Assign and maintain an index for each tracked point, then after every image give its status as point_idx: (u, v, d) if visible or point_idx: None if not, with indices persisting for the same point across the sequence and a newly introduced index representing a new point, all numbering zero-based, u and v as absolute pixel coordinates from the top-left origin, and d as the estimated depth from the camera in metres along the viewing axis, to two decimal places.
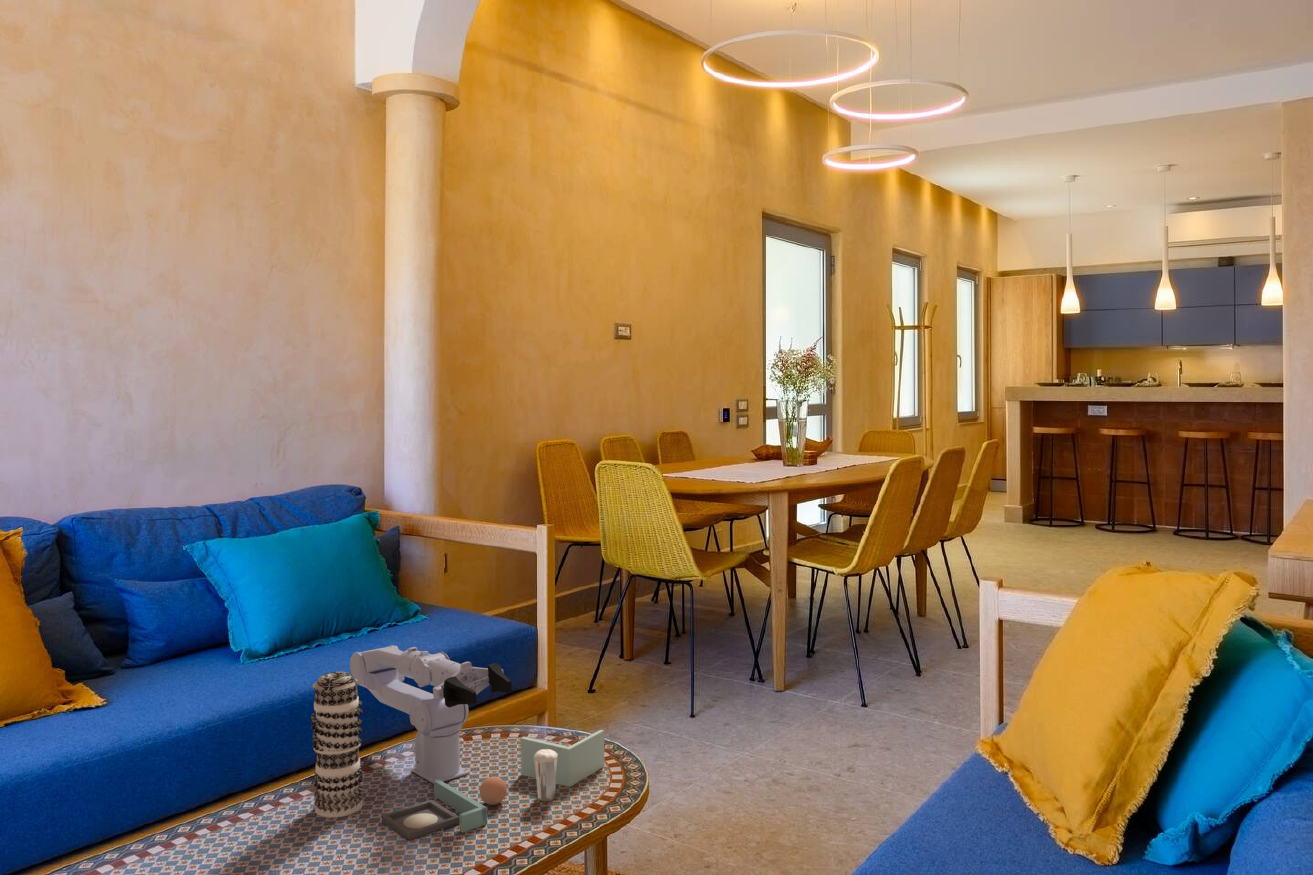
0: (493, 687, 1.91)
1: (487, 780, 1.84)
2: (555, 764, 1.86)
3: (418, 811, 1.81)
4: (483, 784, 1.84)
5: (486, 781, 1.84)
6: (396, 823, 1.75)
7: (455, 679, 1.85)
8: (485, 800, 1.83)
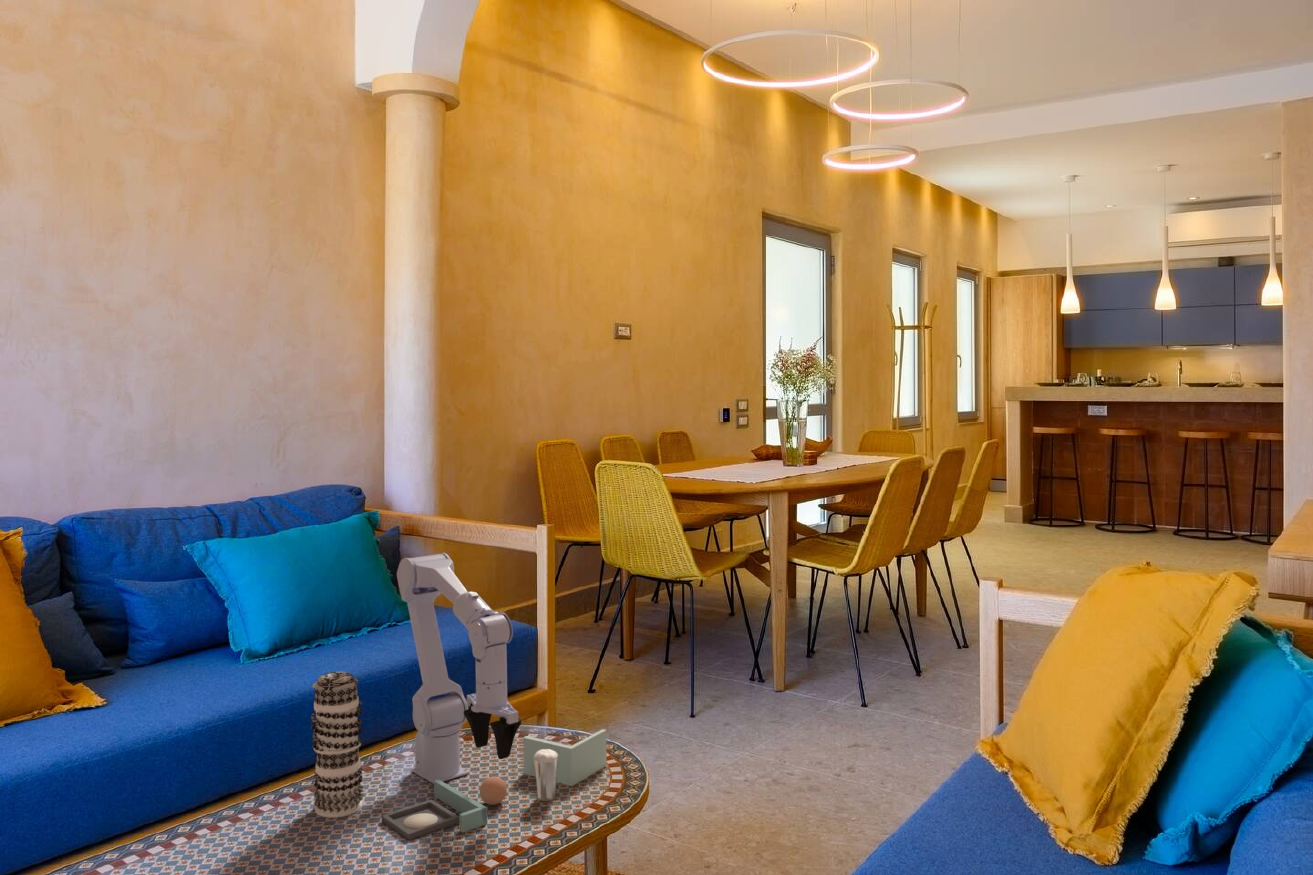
0: None
1: (487, 780, 1.84)
2: (555, 764, 1.86)
3: (418, 811, 1.81)
4: (483, 784, 1.84)
5: (486, 781, 1.84)
6: (396, 823, 1.75)
7: (469, 717, 1.86)
8: (485, 800, 1.83)
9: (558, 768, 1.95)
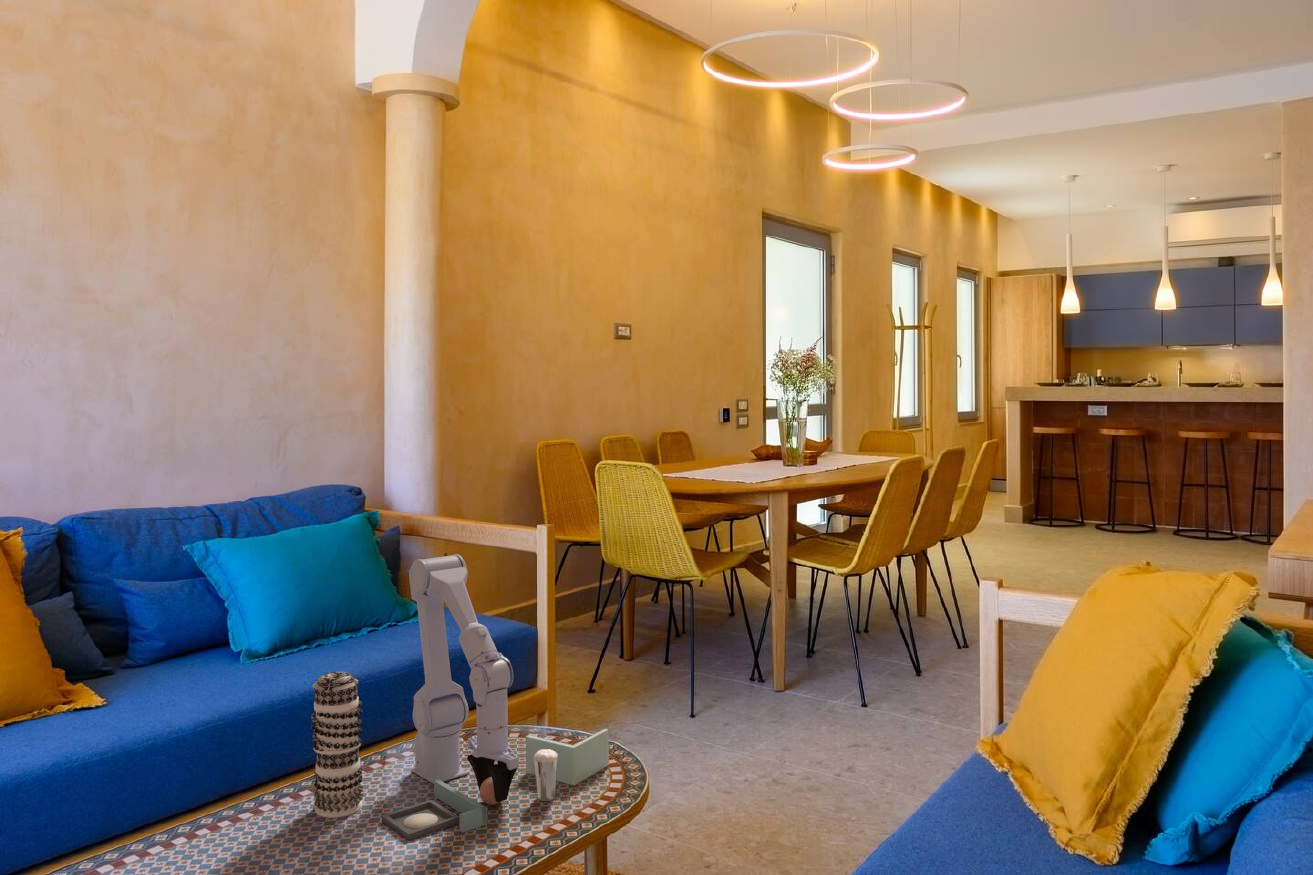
0: None
1: (487, 780, 1.84)
2: (555, 764, 1.86)
3: (418, 811, 1.81)
4: (483, 784, 1.84)
5: (486, 781, 1.84)
6: (396, 823, 1.75)
7: (472, 763, 1.86)
8: (485, 800, 1.83)
9: (560, 767, 1.95)
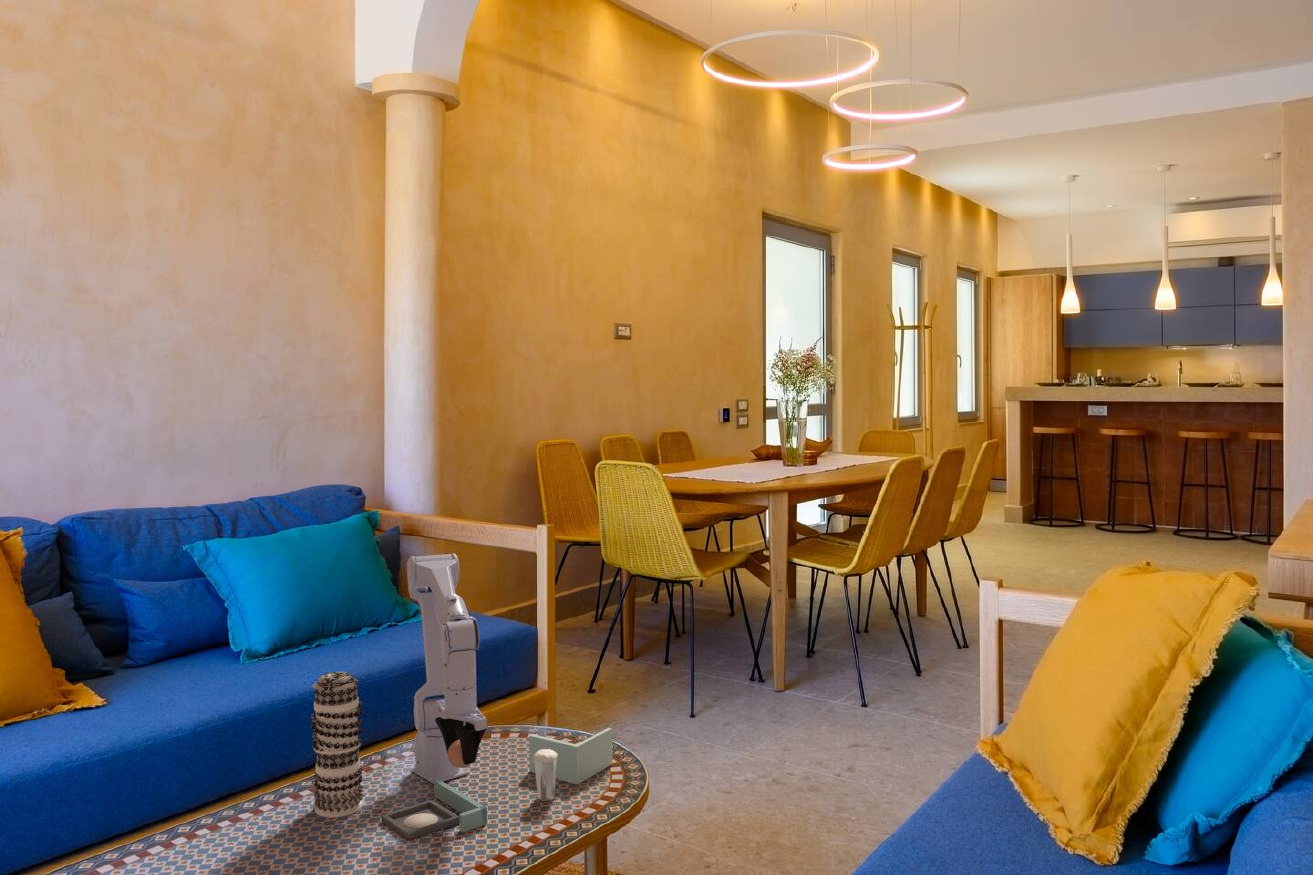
0: None
1: (455, 742, 1.81)
2: (555, 764, 1.86)
3: (418, 811, 1.81)
4: (451, 747, 1.80)
5: (454, 743, 1.80)
6: (396, 823, 1.75)
7: (440, 725, 1.82)
8: (453, 763, 1.80)
9: (564, 766, 1.96)
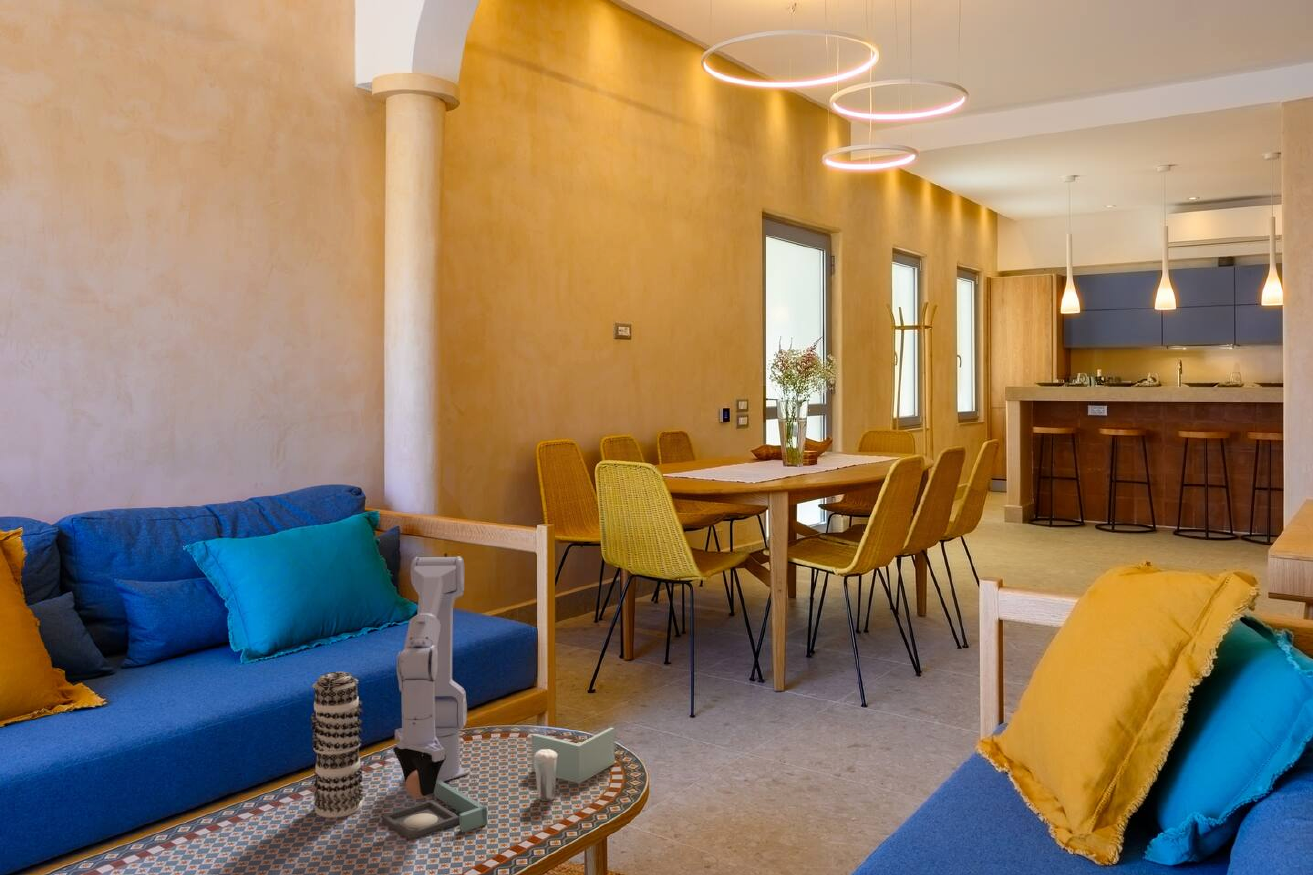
0: None
1: (413, 773, 1.76)
2: (555, 764, 1.86)
3: (418, 811, 1.81)
4: (409, 777, 1.76)
5: (412, 774, 1.76)
6: (396, 823, 1.75)
7: (398, 755, 1.77)
8: (411, 794, 1.75)
9: (566, 765, 1.96)
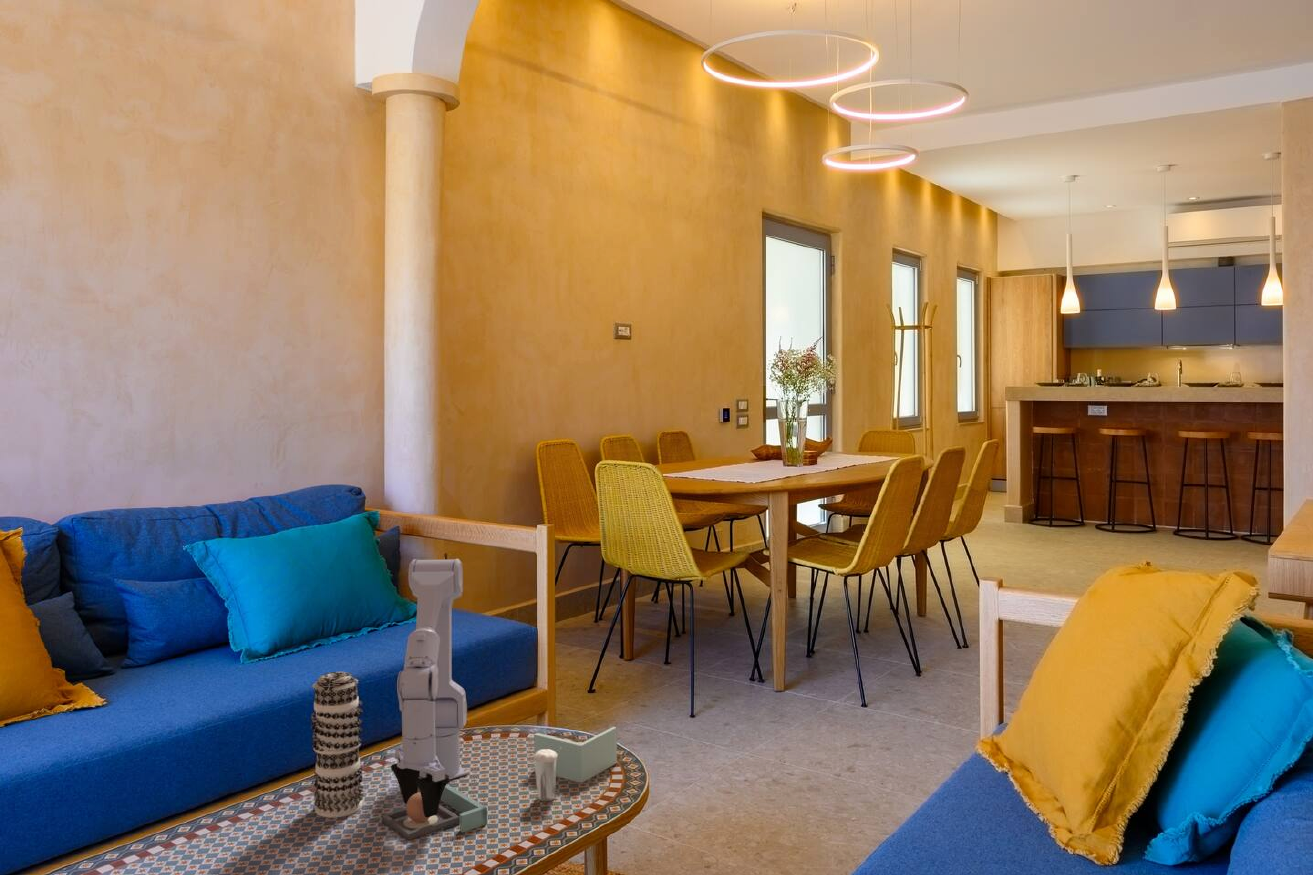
0: None
1: (413, 796, 1.77)
2: (555, 764, 1.86)
3: None
4: (409, 800, 1.76)
5: (413, 797, 1.76)
6: (396, 823, 1.75)
7: (396, 772, 1.78)
8: (411, 817, 1.75)
9: (568, 765, 1.96)
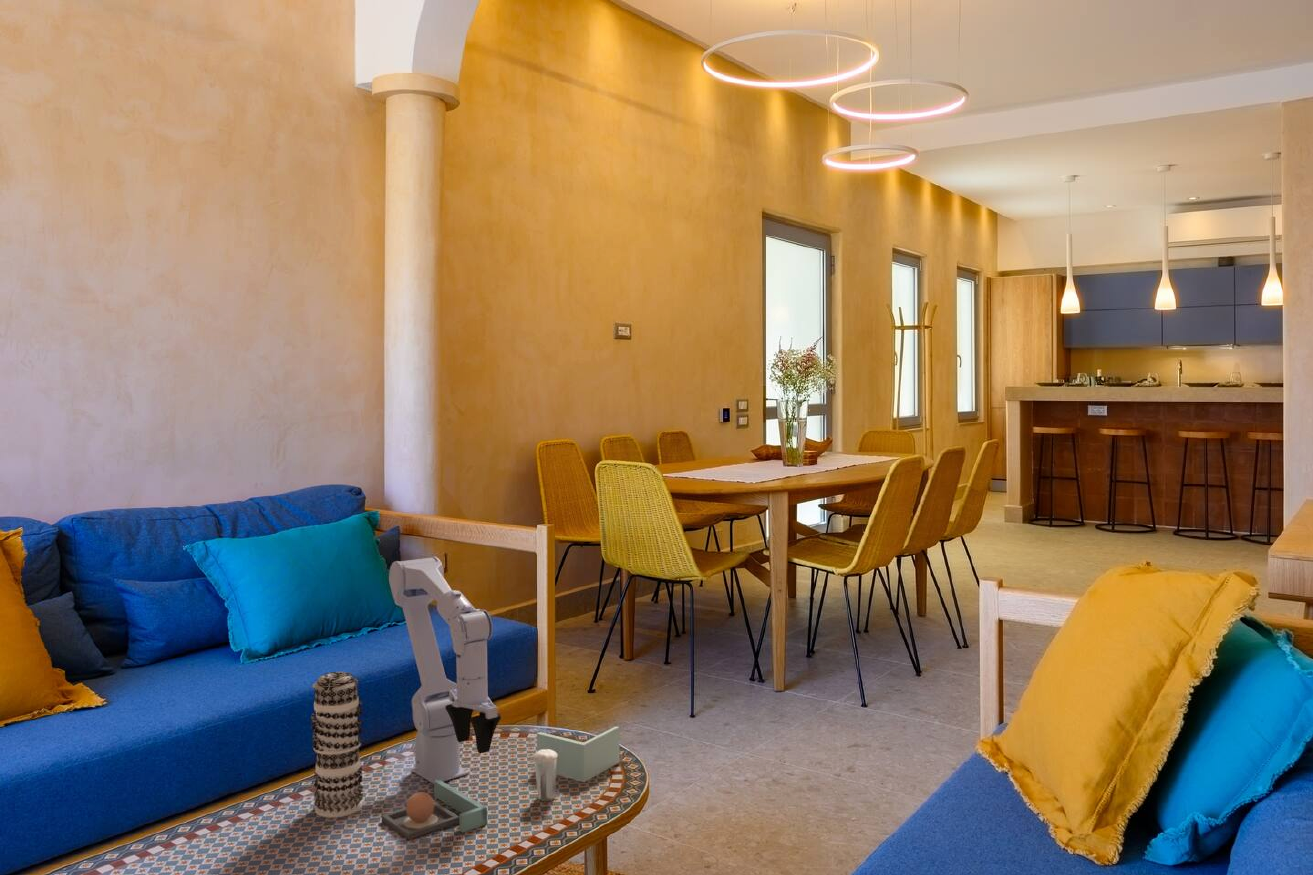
0: None
1: (413, 796, 1.77)
2: (555, 764, 1.86)
3: None
4: (409, 800, 1.76)
5: (412, 797, 1.76)
6: (396, 823, 1.75)
7: (450, 712, 1.89)
8: (411, 817, 1.75)
9: (571, 764, 1.97)
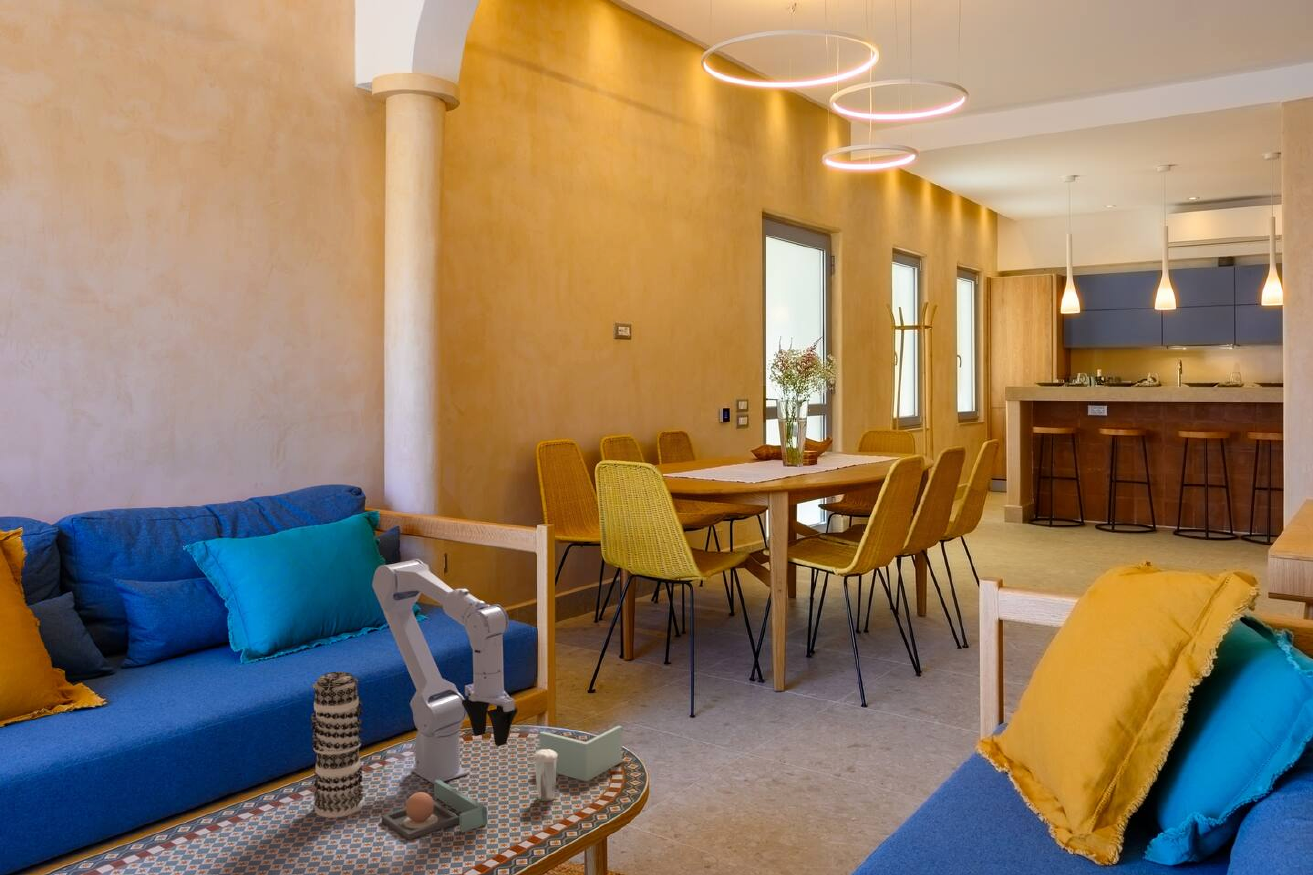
0: None
1: (413, 796, 1.77)
2: (555, 764, 1.86)
3: None
4: (408, 800, 1.76)
5: (412, 797, 1.76)
6: (396, 823, 1.75)
7: (467, 707, 1.92)
8: (411, 817, 1.75)
9: (573, 763, 1.97)
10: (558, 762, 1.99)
